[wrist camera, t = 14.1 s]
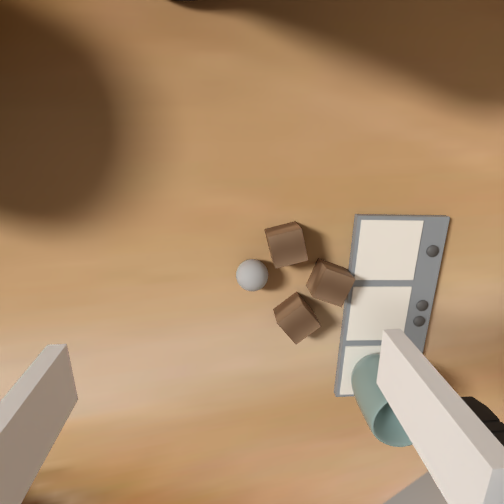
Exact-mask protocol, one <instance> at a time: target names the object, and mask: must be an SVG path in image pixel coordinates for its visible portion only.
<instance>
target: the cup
mask: <svg viewBox="0 0 504 504" xmlns="http://www.w3.org/2000/svg"><path fill="white" fill-rule="evenodd" d="M379 358H380V354H369V355H366V356H364V357H363V358H361V359H360V360H359V361H358V362H357V363H356V365H355V366H354V368H353V370H352V373H351V387H352V391H353V394H354V396H355V399H356V401H357V404H358V406H359V408H360V410H361V412H362V414H363V416H364V418H365V420H366V422H367V424H368V426H369V428H370V430H371V432H372V433H373V434H374V436H375V437H376V438H377V439H378V440H379V441H381V442H383V443H385V444H387V445H390V446H395V447H404V446H409V445H412V442H411V440H410V439H409V437H408V435H407V434H406V432H405V430H404V429H403V427H402V425H401V424H400V422H399V420H398V419H397V417H396V415H395V414H394V412H393V410H392V408H391V407H390V405H389V403H388V402H387V400H386V398H385V397H384V395H383V393H382V392H381V390H380V388H379V387H378V385H377V383H376V382H377V374H378V366H379Z"/></svg>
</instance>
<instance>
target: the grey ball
mask: <svg viewBox="0 0 504 504" xmlns="http://www.w3.org/2000/svg"><path fill="white" fill-rule="evenodd" d="M236 278H237V282H238V283H239V285H240V286H241V287H242V288H243V289H245V290H248V291H257V290H259V289H261V288H262V287H264V285H265V284H266V282H267V280H268V270H267V268H266V266H265V265H264V264H263V263H262V262H261V261H259V260H256V259H249V260H246V261H244V262H242V263H241V264H240V265H239V267H238V269H237V272H236Z"/></svg>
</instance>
